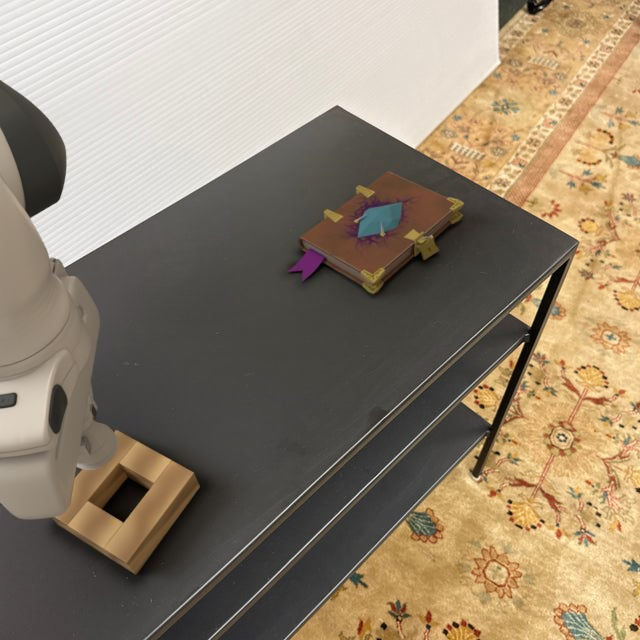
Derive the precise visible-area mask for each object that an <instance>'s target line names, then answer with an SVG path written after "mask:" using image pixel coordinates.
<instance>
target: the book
mask: <svg viewBox="0 0 640 640" xmlns="http://www.w3.org/2000/svg"><path fill="white" fill-rule="evenodd" d="M355 191H356V193H355V194H356V195H354V196H353V197H351V198H350V199H348V201H345V203H343V204H342V205H341V206H340V207H338V208H337V209H336V210H334V211H332V210H330V209H328V208H327V209H325V210H324V211H323V217H324V218H323V219H322V220H321V221H320V222H318V223H317V224H316V225H315V226H313V227H311V228H310V229H309V230H308V231H306V232H305V233H304V234H302V235H301V236H300V237H298V239H297V244H298V246H299V248H300V249H301V251H303V252H304V254H303V256H302V257H301V258H300V260H299V261H298V262H296V264H295V265H294V266H292V267H291V268H289V269H288V270H287V271H286V273H291V272H302V273H301V278H302V279H301V282H303V281H305V280H306V279H308V278H310V276H311V275H312V274H313V273H314V272H315V271H316V270H317V269H318V268H319V266H320V265H321V264H322V263H323V264H325V265H327V266H328V267H330V268H332V269H333V270H335V271H337V272H338V273H340V274H342V275H344V276H345V277H347V278H349V279H350V280H352V281H354V282H356V283H357V284H359V285H360V286H362V288H363V289H365V290H366V292H368V293H370V294H373V295H374V294H376V293H378V292H379V290H380V289H381V288H382V287H383V285H384V283H385V282H387V280H389V279H390V278H391V277H392V276H393V275H394V274H395V273H397V272H398V271H399V270H400V269H401V268H403V267H404V266H405V265H406V264H407V263H408V262H409V261H411V260H412V259H413V258H414V257H416V256H418V255H419V254H421V258H422V260H423V261H425V260H427V259H429V258H431V256H433V255H435V254H436V253H438V252H439V251H440V249H439V248H438V246H437V245H436V242H435V239H436V238H437V237H438V236H439V235H440V234H442V233H443V232H444V231H445V230H446V229H447V228H448V227H449V226H450V225H453V224H455V223H457V222H459V221H460V220H461V219H462V218H463V216H464V214H463V213H461V212H460V211H459V210H461V209H462V208H463V207H464V205H465V202H463V201H462V200H460V199H458V198H454V197H450V196H449V197H447V196H444V195H442V194H440V193H438V192H436V191H433V190H431V189H429V188H427V187H424V186H422V185H420V184H418V183H417V182H414V181H411V180H409V179H407V178H404V177H402V176H400V175H398V174H395V173H394V172H391V171H389V170H387V171H386V172H385V173H384V174H382V175H380V176H379V177H378V178H376V179H375V180H374V181H373V182H371V183H370V184H369V185H367V186H366V187H364V186H362V185H360V184H359V185H358V186H356V187H355Z"/></svg>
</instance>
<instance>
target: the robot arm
mask: <svg viewBox="0 0 640 640" xmlns="http://www.w3.org/2000/svg"><path fill="white" fill-rule="evenodd" d="M67 162H68V161H67V148H66V145H65V142H64V140H63V138H62V136H61V134H60V132H59V131H58V129H57V128H56V126H55V125H54V123H53V122H52V121H51V120H50V118H49V117H48V116H46V114H45V113H44V112H43V111H42V110H41V109H40V108H38V106H37V105H35V104H34V103H33V102H32V101H31V100H29V99H28V98H27V97H25V95H23V94H22V93H20V92H19V91H17V90H16V89H15V88H13V87H11V85H9V84H7V82H4V81H3V80H1V79H0V504H1V506H3V507H4V508H5V509H6V510H7V511H8V512H9V513H10V514H11V515H13V516H14V517H16V518H18V519H21V520H42V519H50V518H51V517H56V516H60V515H62V514H63V513H65V512H66V511H67V510H68V509H69V507H70V504H71V497H72V491H73V485H74V479H75V477H76V472H77V468H78V467H77V463H87V462H89V461H90V454H91V447H92V446H91V444H89V441H88V439H87V438H81V437H82V431H83V425H84V419H85V413H86V407H87V401H89V405H90V411H91V412H92V415H93V420H94V421H95V422H96V420H97V414H98V405H97V403H96V401H95V400H94V393H93V387H92V376H93V370H94V365H95V358H96V352H97V348H98V347H97V346H98V341H99V334H100V328H101V317H100V313H99V309H98V307H97V305H96V303H95V301H94V300H93V297H92V296H91V294H90V293H89V291H88V290H87V288H86V286H85V284H83V282H82V281H81V279H79V278H78V277H77V276H75V275H68V273H67V270H66V268H65V266H64V264H63V262H62V261H61V259H59V258H56V257H54V256H53V257H50V255H49V252H48V249H47V246H46V244H45V242H44V241H43V238H42V237H41V235H40V233H39V231H38V230H37V228H36V225H35V224H34V223H33V221H32V219H31V218H33V217H36V216H37V215H38V214H40V213H42V212H43V211H45V210H47V209H49V208H50V207H52V206H53V205H55V204H58V202H59V201H60V200H61V198H62V195H63V190H64V187H65V182H66V175H67V165H68V164H67ZM51 519H52V518H51Z"/></svg>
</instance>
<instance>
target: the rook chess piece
mask: <svg viewBox="0 0 640 640" xmlns="http://www.w3.org/2000/svg"><path fill="white" fill-rule="evenodd" d="M114 432H115V431H114V430H113V429H112V428H111V427H109V426H108V425H107V424H105V423H101V422H97V421H96V420H95V421H94V420H93V415H92V412H91V411H90V405H89V401H87V407H86V413H85V419H84V425H83V431H82V437H81V438H87V439H88V441H89V444H91V446H92V447H91V454H90V461H89V462H87V463H77V467H76V468H78V469H81V470H82V469H83V470H96V469H98V468H100V467H103V466H105V465H106V464H107V463H109V462H110V461H111V460H112V459H113V457H114V456H115V454H116V453H117V450H118V444H119V442H118V439H117V435H116V434H115V433H114Z"/></svg>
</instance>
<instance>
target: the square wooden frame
mask: <svg viewBox="0 0 640 640" xmlns="http://www.w3.org/2000/svg"><path fill="white" fill-rule="evenodd" d="M113 432H114V433H115V434H116V435H117V439H118V442H119V444H118V450H117V453H116V454H115V456H114V457H113V459H112V460H111V461H110V462H109V463H107V464H106V465H105V466H103V467H100V468H98V469H96V470H83V469H81V470H80V471H79V473H78V474H77V475H75V479H74V485H73V491H72V497H71V504H70V507H69V509H68V510H67V511H66V512H65V513H63V514H62V515H60V516H56V517H51V519H52V520H53V521H54V522H55V524H56V525H58V526H59V527H61V528H62V529H64V530H65V531H67V532H68V533H70V534H72V535H73V536H74V537H76V538H78V539H79V540H80V541H82V542H84V543H85V544H87V545H89V546H90V547H92V548H93V549H94V550H96V551H97V552H99V553H101V554H102V555H104V556H106V557H107V558H108V559H110V560H112V561H113V562H115V563H116V564H118V565H119V566H121V567H123V568H124V569H125V570H127V571H129V572H131V573H132V574H134V575H137V574H139V572H140V571H141V569H142V568H143V566H144V565H145V563H146V562H147V561H148V559H149V558H150V557H151V555H152V554H153V552H154V551H155V549H157V547H158V545H159V544H160V543H161V542H162V540H163V539H164V537H165V536H166V535H167V533H168V532H169V530H170V529H171V527H172V526H173V525H174V523H175V522H176V521H177V519H178V518H179V517H180V515H181V514H182V513H183V511H184V510H185V508H186V507H187V506H188V504H189V503H190V502H191V500H192V498H194V496H195V495H196V493H198V490H200V484H199V481H198V479H197V477H196V474H195V472H194V471H192V470H190V469H188V468H186V467H185V466H183V465H181V464H180V463H177V462H176V461H174V460H172V459H171V458H168V457H166V456H165V455H163V454H161V453H160V452H158V451H156V450H154V449H153V448H150V447H148V446H147V445H145V444H143V443H141V442H140V441H138V440H136V439H134V438H132V437H130V436H129V435H127V434H125V433H123V432H121V431H120V430H118V429H116V430H114V431H113ZM127 479H130V480H132V481H133V482H135V483H137V484H139V485H141V486H142V487H144V488H146V489H148V491H147V492H146V493H145V495H144V496H143V497H142V499H141V500H140V502H139V503H137V505H136V507H134V509H133V510H132V512H131V513H130V514H129V516H128V517H127V518H126V519H125V521H124V522H123V521H122V520H120V519H118V518H116V517H115V516H113V515H112V514H110V513H109V512H107V511H105V510H104V507H105V506H106V505H107V503H108V502H109V500H111V498H112V497H113V496H114V495H115V493H116V492H117V491H118V490H119V489H120V487H122V485H123V483H125V481H126V480H127Z"/></svg>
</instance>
